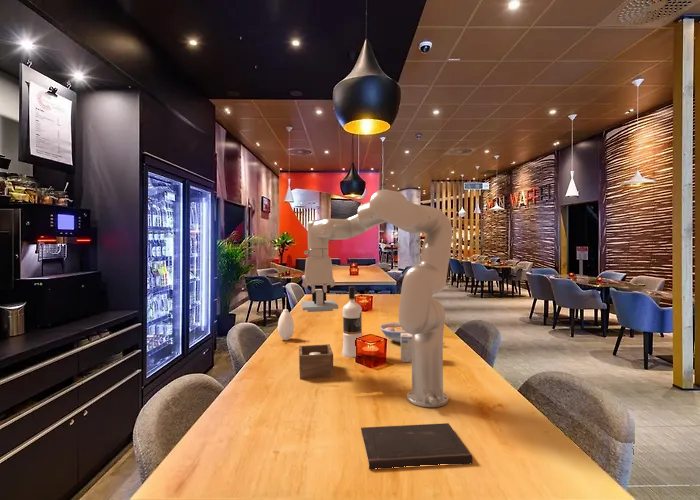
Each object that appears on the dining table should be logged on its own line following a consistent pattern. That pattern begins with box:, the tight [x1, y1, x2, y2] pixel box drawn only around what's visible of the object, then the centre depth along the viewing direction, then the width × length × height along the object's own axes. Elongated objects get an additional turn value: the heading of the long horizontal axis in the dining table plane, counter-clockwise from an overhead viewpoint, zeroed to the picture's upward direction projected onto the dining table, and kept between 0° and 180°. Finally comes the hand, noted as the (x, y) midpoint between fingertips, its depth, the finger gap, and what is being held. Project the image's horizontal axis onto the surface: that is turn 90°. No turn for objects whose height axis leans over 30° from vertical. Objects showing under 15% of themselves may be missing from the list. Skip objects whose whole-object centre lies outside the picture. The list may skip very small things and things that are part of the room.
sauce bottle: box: [277, 304, 295, 341], centre depth 199 cm, size 8×8×18 cm
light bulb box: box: [400, 333, 412, 363], centre depth 163 cm, size 11×7×11 cm, turn 84°
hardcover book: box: [360, 422, 473, 470], centre depth 94 cm, size 16×23×2 cm
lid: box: [301, 288, 339, 313], centre depth 147 cm, size 15×13×7 cm
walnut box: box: [298, 343, 335, 380], centre depth 147 cm, size 14×12×9 cm
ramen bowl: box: [379, 321, 407, 344], centre depth 193 cm, size 25×23×8 cm
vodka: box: [341, 286, 363, 358], centre depth 169 cm, size 9×9×30 cm
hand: (319, 302), depth 147 cm, fingers closed on lid, 2 cm apart
